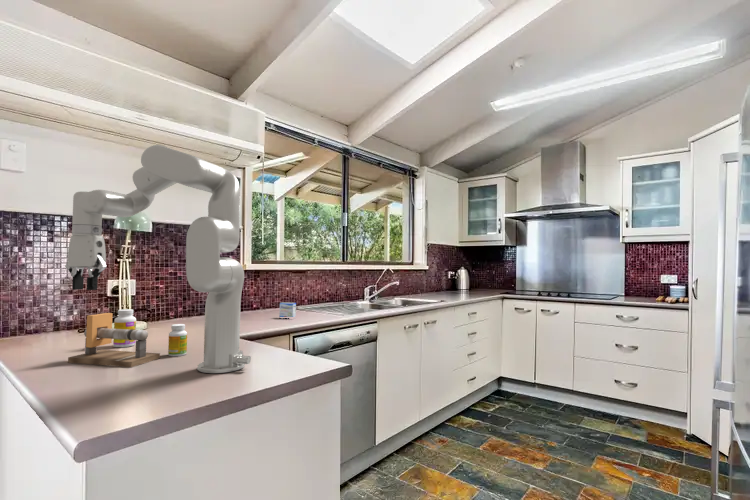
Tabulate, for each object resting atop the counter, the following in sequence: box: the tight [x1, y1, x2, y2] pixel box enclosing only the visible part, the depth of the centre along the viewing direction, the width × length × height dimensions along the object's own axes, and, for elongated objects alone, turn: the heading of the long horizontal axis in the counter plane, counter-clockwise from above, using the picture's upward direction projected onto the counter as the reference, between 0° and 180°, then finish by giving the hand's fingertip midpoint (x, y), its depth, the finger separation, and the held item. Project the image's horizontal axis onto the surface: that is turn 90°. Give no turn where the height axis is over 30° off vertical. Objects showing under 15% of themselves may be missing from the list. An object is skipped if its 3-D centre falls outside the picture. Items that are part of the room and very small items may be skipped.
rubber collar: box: [85, 312, 113, 348], centre depth 122 cm, size 2×7×9 cm, turn 168°
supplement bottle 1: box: [112, 308, 137, 348], centre depth 141 cm, size 7×7×13 cm
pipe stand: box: [67, 327, 161, 368], centre depth 120 cm, size 22×11×10 cm, turn 78°
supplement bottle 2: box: [167, 323, 188, 357], centre depth 129 cm, size 5×5×10 cm
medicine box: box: [278, 302, 297, 317], centre depth 215 cm, size 8×4×9 cm, turn 81°
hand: (84, 289), depth 123 cm, fingers open, 4 cm apart
